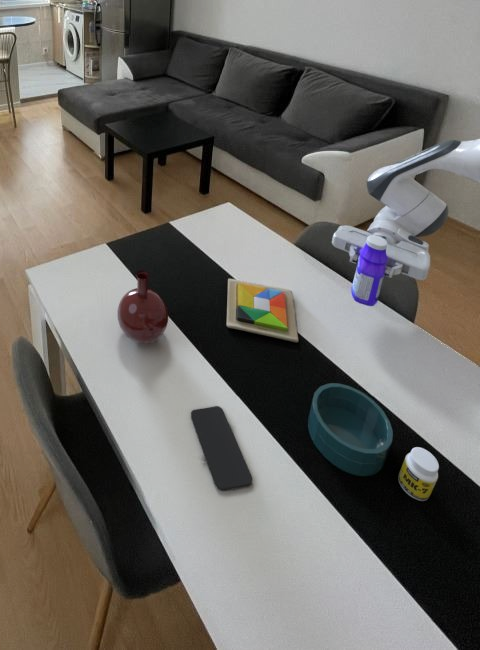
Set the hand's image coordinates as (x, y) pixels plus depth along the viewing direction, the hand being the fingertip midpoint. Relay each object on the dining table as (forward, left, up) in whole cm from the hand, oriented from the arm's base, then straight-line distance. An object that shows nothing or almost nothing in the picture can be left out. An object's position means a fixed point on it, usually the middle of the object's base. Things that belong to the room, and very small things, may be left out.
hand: (370, 267), depth 102 cm
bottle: (0, -1, -10) cm, 10 cm away
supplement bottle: (-23, +26, -22) cm, 41 cm away
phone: (+3, +50, -22) cm, 54 cm away
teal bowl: (-11, +28, -21) cm, 37 cm away
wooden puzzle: (+19, +13, -22) cm, 31 cm away
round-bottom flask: (+33, +44, -22) cm, 59 cm away
